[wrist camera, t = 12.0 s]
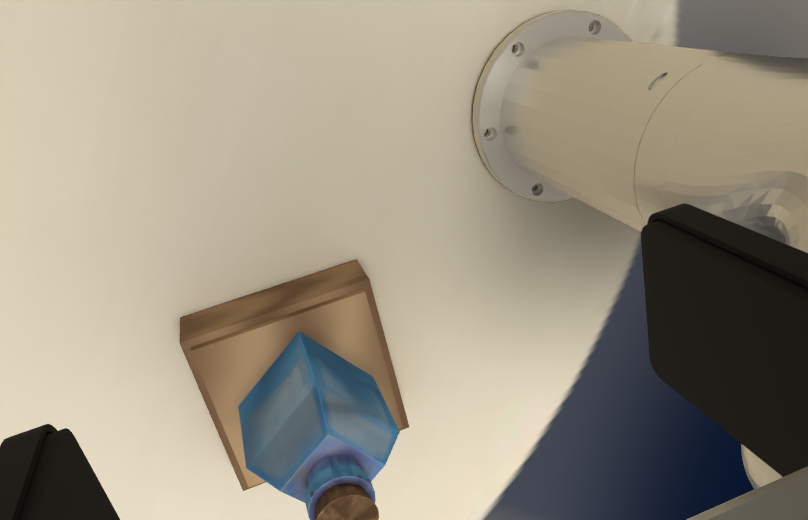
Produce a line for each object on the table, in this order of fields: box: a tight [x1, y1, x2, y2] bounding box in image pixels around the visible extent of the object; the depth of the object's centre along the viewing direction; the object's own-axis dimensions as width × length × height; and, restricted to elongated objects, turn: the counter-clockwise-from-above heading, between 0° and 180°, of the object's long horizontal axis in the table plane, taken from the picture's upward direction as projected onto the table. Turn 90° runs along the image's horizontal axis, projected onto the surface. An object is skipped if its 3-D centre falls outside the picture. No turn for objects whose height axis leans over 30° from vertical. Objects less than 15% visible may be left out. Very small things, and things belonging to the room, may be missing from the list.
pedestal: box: [180, 260, 409, 491], centre depth 45 cm, size 12×12×4 cm
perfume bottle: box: [238, 332, 400, 520], centre depth 37 cm, size 6×6×12 cm
